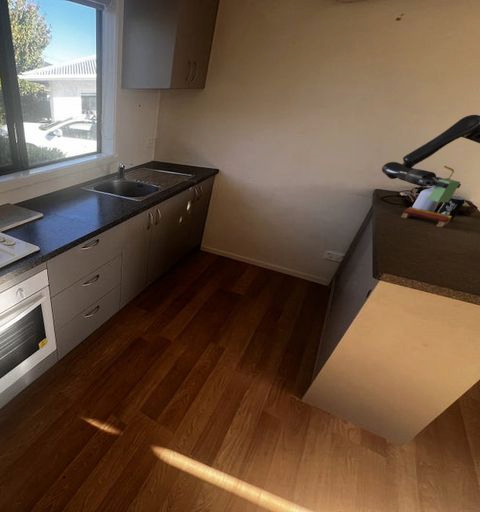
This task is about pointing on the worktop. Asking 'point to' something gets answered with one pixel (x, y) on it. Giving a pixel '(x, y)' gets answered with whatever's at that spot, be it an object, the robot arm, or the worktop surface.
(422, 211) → the rod rack
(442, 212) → the beverage can
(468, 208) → the bolt
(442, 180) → the green bar
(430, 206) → the soap bottle
